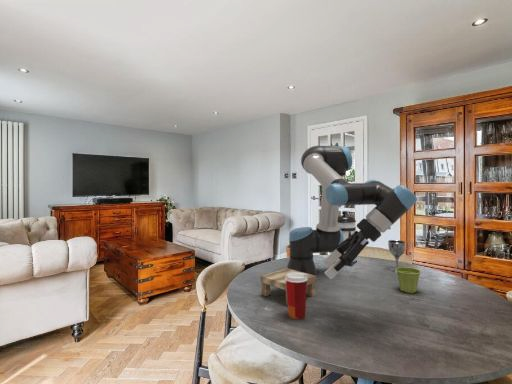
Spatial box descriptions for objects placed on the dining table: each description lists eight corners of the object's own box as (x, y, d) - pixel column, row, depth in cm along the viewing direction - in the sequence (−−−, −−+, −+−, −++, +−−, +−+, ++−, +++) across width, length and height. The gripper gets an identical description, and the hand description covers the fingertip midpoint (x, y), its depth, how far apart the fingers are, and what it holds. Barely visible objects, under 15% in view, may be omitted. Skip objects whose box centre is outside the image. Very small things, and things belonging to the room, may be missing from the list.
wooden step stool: (261, 295, 117) (260, 276, 117) (286, 285, 128) (286, 268, 128) (290, 306, 105) (290, 285, 105) (316, 295, 116) (316, 275, 116)
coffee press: (325, 260, 171) (325, 210, 171) (351, 259, 173) (350, 209, 172) (337, 268, 154) (336, 212, 153) (365, 267, 156) (364, 212, 155)
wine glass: (406, 269, 150) (405, 240, 150) (404, 273, 143) (404, 243, 143) (389, 267, 154) (389, 239, 154) (387, 271, 148) (387, 242, 148)
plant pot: (424, 295, 114) (424, 273, 114) (399, 294, 116) (399, 272, 116) (416, 287, 123) (416, 267, 123) (393, 286, 125) (392, 266, 125)
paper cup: (309, 312, 101) (309, 272, 101) (306, 322, 93) (305, 279, 93) (288, 309, 103) (287, 270, 103) (282, 318, 96) (282, 277, 96)
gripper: (392, 240, 80) (338, 291, 83) (374, 228, 105) (332, 267, 108) (372, 221, 81) (319, 272, 84) (358, 214, 106) (317, 253, 109)
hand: (326, 270), depth 96 cm, fingers open, 13 cm apart
